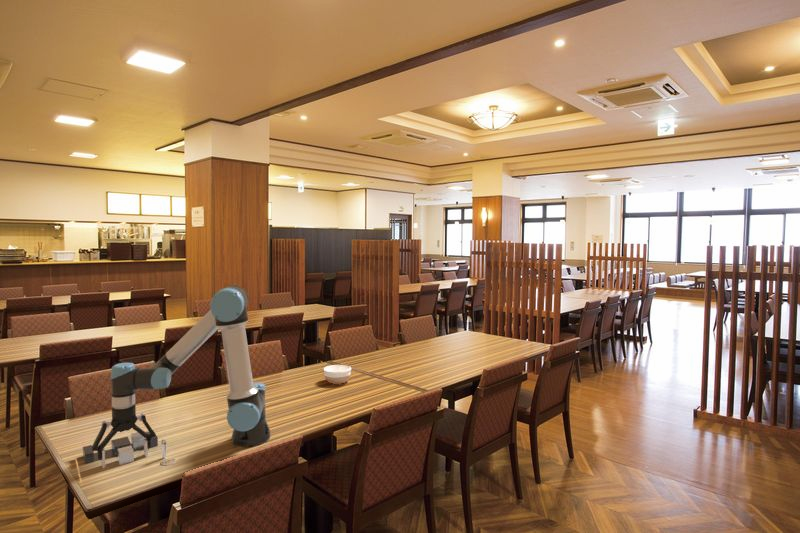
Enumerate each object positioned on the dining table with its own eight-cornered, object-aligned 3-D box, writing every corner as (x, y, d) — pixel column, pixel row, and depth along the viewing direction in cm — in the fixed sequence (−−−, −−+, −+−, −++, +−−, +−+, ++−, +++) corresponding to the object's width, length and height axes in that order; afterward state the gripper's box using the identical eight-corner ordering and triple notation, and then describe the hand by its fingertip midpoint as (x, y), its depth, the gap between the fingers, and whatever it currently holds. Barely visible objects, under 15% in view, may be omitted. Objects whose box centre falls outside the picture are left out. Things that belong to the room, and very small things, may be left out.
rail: (157, 446, 184) (157, 437, 184) (85, 465, 169) (84, 454, 169) (153, 440, 190) (153, 430, 190) (83, 457, 175) (82, 446, 175)
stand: (164, 466, 169) (154, 459, 174) (177, 461, 172) (168, 455, 177) (163, 446, 168) (154, 440, 173) (177, 441, 172) (167, 435, 177)
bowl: (356, 382, 267) (356, 369, 266) (331, 387, 258) (331, 373, 257) (343, 376, 280) (343, 363, 280) (319, 380, 271) (319, 367, 271)
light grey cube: (146, 446, 183) (145, 434, 183) (133, 450, 180) (132, 437, 180) (144, 442, 187) (143, 430, 186) (131, 445, 184) (131, 433, 184)
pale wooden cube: (133, 462, 171) (133, 449, 171) (119, 466, 169) (119, 453, 168) (131, 458, 175) (131, 445, 175) (117, 461, 172) (117, 448, 172)
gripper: (159, 395, 181) (160, 448, 182) (81, 410, 165) (83, 467, 167) (163, 401, 175) (164, 455, 177) (83, 416, 160) (85, 476, 161)
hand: (125, 461), depth 172 cm, fingers open, 13 cm apart
